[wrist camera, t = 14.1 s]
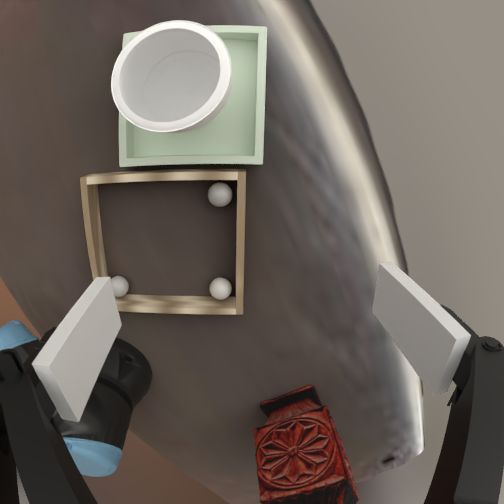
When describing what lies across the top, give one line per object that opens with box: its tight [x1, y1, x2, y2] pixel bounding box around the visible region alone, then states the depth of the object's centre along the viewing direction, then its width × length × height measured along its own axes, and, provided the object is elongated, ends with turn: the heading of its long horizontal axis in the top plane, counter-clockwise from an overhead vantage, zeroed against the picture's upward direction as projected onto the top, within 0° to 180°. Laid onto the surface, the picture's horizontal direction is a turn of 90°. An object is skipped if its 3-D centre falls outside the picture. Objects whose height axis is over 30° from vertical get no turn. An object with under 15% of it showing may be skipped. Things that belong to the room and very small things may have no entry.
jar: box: [111, 20, 232, 133], centre depth 29 cm, size 11×10×15 cm
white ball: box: [111, 276, 129, 297], centre depth 44 cm, size 3×3×3 cm
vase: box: [253, 385, 359, 504], centre depth 44 cm, size 14×14×30 cm
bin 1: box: [119, 26, 267, 167], centre depth 35 cm, size 18×18×4 cm
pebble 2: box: [210, 278, 232, 300], centre depth 45 cm, size 3×3×3 cm
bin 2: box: [80, 169, 246, 314], centre depth 42 cm, size 22×20×4 cm
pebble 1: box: [208, 182, 232, 207], centre depth 40 cm, size 3×3×3 cm
